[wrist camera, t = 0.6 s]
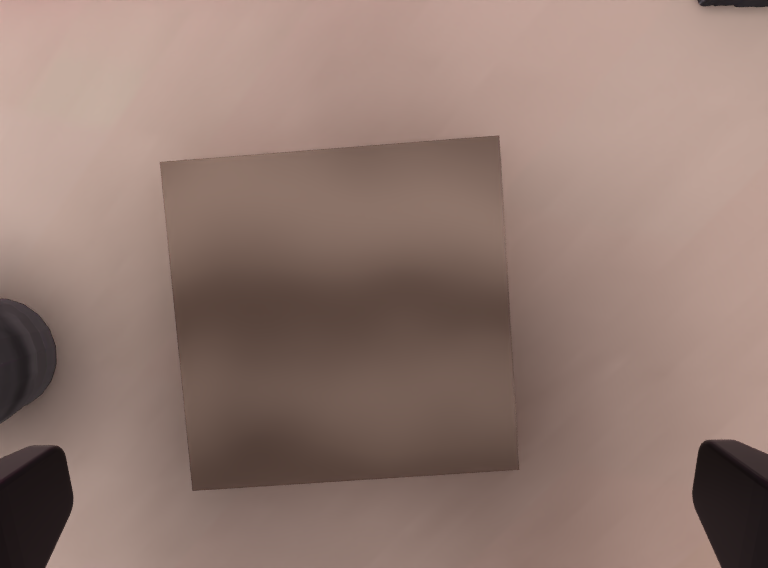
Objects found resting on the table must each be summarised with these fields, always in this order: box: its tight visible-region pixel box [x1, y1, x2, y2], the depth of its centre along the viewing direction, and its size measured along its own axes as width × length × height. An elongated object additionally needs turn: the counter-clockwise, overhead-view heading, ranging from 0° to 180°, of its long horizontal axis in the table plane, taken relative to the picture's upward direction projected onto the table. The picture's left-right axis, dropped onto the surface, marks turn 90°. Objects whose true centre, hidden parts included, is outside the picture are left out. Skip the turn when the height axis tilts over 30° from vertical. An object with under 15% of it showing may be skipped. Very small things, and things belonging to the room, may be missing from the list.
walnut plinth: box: [160, 136, 519, 491], centre depth 23 cm, size 12×12×2 cm
